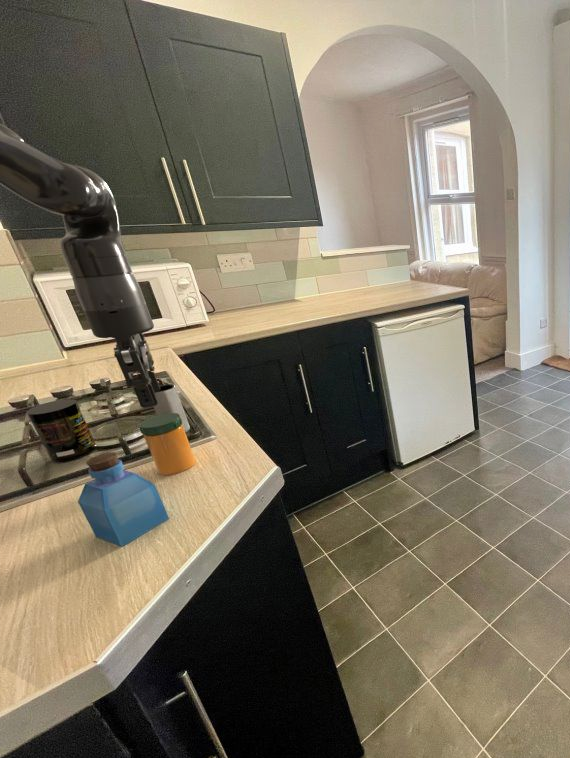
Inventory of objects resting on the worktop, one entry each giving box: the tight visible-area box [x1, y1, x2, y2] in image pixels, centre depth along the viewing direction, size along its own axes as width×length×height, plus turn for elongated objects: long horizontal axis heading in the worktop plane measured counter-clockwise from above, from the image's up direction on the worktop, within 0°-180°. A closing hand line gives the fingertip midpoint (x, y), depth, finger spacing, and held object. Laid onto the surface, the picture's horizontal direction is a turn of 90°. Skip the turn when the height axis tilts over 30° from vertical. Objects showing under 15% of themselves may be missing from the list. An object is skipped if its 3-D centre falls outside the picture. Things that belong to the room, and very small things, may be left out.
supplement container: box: [26, 398, 97, 463], centre depth 81 cm, size 7×7×10 cm
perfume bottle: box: [77, 451, 170, 548], centre depth 60 cm, size 6×6×12 cm
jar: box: [142, 425, 197, 476], centre depth 76 cm, size 6×6×9 cm
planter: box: [152, 383, 191, 433], centre depth 89 cm, size 4×4×10 cm
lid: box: [138, 413, 182, 435], centre depth 74 cm, size 6×6×2 cm
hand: (151, 398), depth 73 cm, fingers open, 7 cm apart
